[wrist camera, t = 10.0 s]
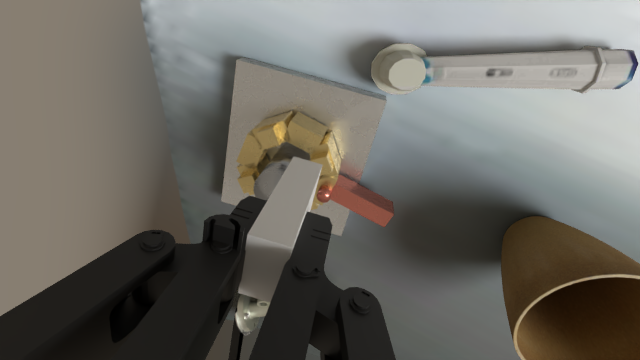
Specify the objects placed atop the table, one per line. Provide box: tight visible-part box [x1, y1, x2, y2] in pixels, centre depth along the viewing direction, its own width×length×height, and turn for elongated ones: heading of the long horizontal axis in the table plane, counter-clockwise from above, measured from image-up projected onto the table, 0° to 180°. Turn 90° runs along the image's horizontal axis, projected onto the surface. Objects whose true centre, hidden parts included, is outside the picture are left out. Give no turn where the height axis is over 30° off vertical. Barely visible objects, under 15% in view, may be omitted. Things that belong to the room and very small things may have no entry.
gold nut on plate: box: [221, 57, 386, 236], centre depth 40 cm, size 20×18×12 cm
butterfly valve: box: [228, 294, 270, 360], centre depth 50 cm, size 9×20×17 cm
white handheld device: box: [371, 43, 638, 94], centre depth 35 cm, size 5×7×25 cm
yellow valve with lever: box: [236, 111, 394, 227], centre depth 40 cm, size 20×12×5 cm, turn 64°
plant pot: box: [501, 216, 640, 360], centre depth 38 cm, size 15×15×16 cm
